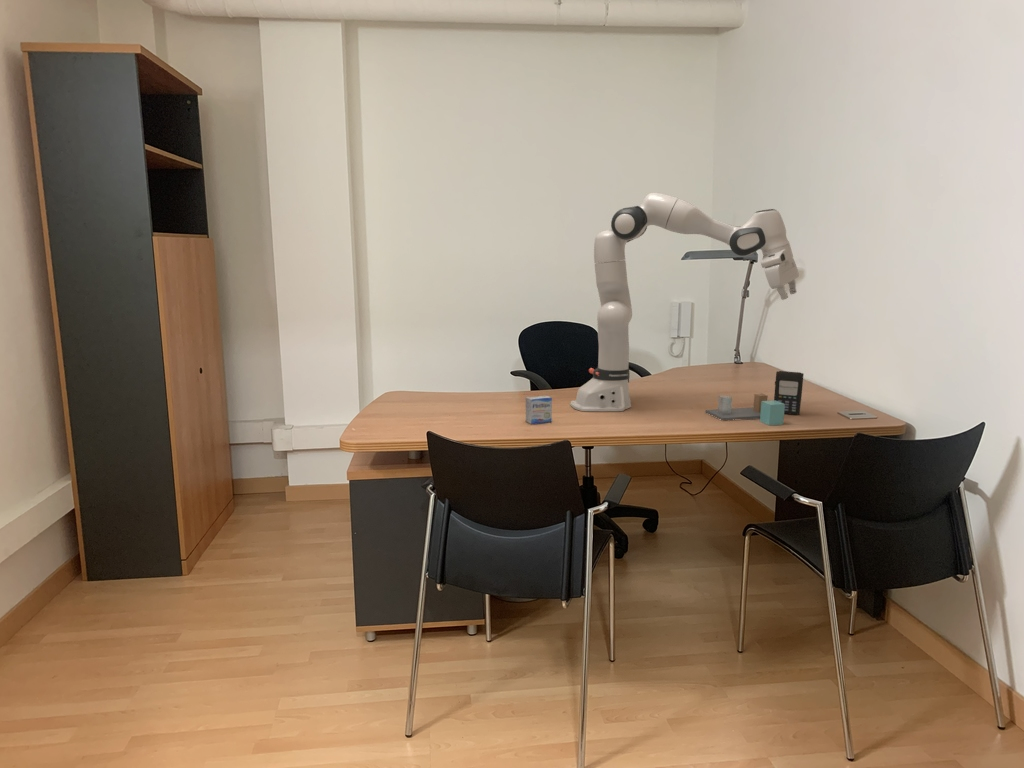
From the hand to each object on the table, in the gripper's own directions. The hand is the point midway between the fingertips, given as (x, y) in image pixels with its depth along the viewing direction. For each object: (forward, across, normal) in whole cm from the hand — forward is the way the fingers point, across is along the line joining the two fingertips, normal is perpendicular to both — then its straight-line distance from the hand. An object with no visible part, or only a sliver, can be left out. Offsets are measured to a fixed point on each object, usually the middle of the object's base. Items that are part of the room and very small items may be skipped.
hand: (789, 296), depth 241 cm
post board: (+36, +8, -24) cm, 44 cm away
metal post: (+34, +13, -28) cm, 46 cm away
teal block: (+39, +12, -13) cm, 43 cm away
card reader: (+41, -5, -14) cm, 44 cm away
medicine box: (+14, +60, -71) cm, 94 cm away
